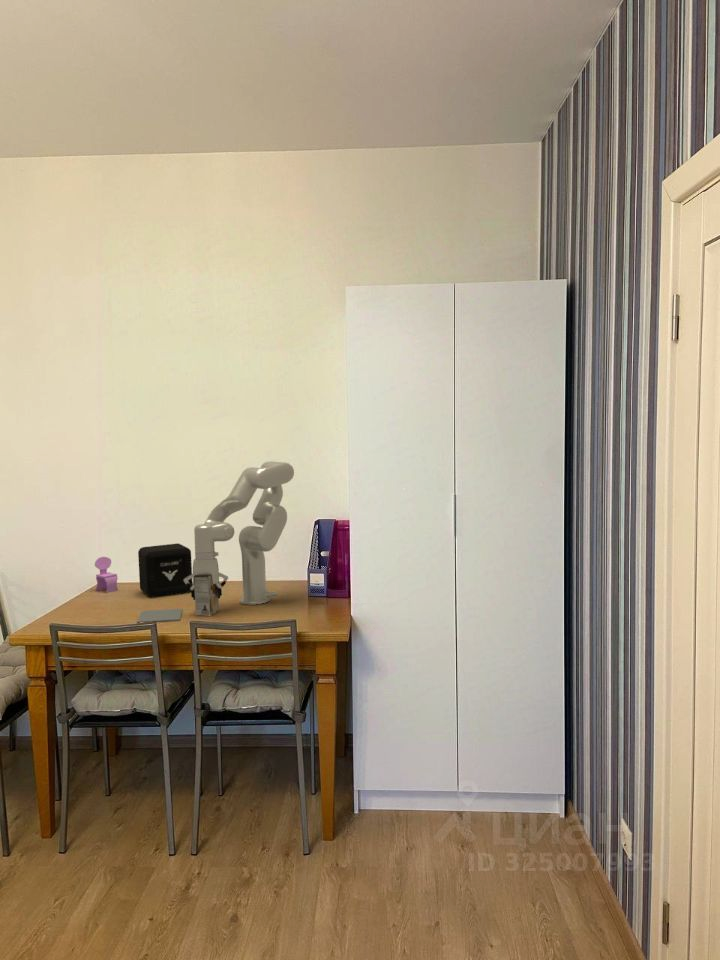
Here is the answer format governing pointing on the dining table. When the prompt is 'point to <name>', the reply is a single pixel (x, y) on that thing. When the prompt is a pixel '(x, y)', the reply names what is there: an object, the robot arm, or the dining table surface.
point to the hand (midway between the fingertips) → (206, 598)
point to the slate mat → (160, 615)
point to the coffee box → (205, 595)
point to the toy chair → (105, 575)
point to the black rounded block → (164, 569)
